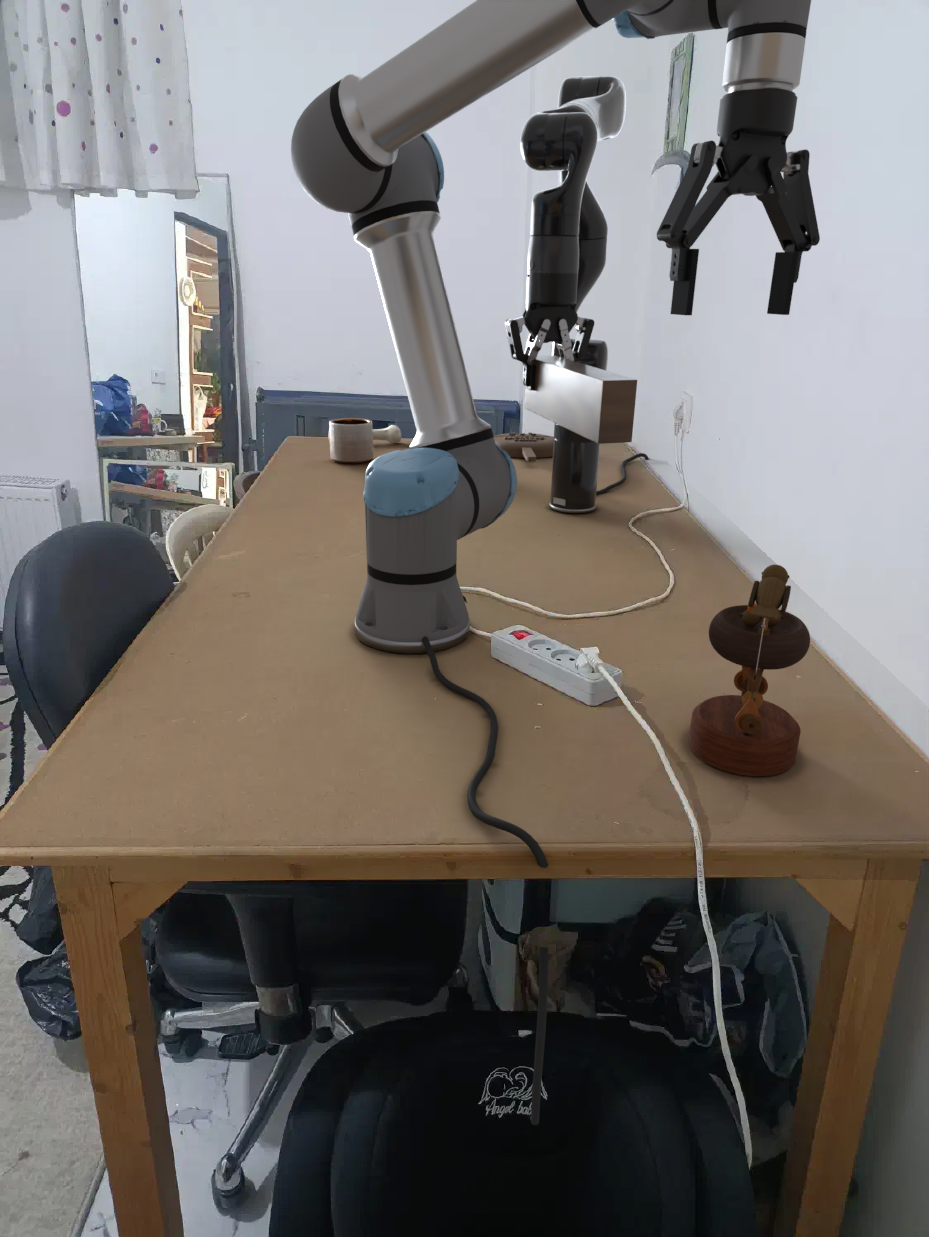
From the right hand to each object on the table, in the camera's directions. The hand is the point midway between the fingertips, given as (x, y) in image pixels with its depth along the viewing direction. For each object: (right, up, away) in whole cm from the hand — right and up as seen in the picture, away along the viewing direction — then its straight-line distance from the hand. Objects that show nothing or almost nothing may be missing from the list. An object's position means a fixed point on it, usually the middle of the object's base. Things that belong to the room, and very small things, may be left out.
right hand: (546, 388), depth 131 cm
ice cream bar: (+3, +7, +91) cm, 91 cm away
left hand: (+17, -2, -37) cm, 41 cm away
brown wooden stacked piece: (+16, -49, -44) cm, 67 cm away
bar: (+3, -7, -8) cm, 11 cm away
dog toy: (-40, +13, +104) cm, 113 cm away
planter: (-41, +5, +83) cm, 93 cm away
